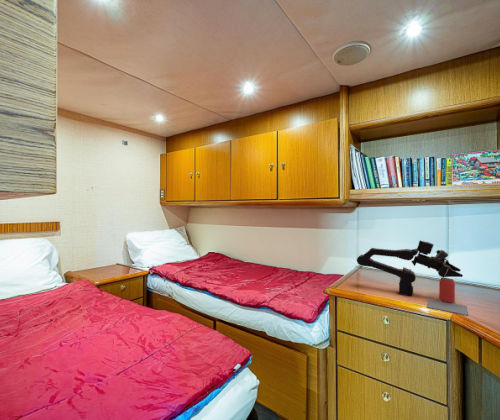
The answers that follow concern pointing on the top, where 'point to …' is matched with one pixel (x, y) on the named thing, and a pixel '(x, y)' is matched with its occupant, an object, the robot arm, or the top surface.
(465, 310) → the mat
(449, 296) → the beer can
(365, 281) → the top surface
